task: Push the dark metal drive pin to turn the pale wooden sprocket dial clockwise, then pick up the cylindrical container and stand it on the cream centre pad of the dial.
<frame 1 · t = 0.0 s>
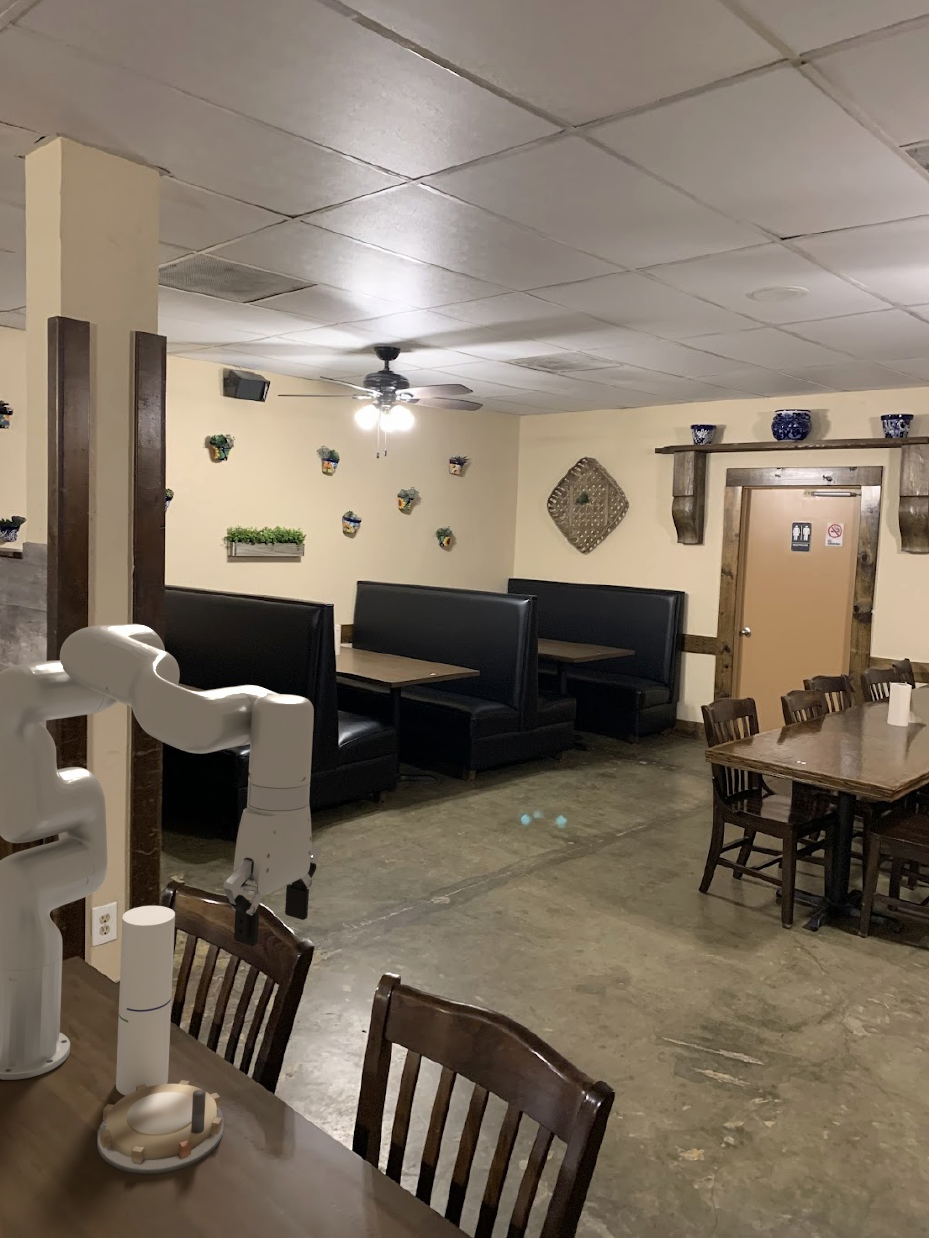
hand: (271, 929, 118), 31 cm above the table, tool pointing down, fingers open, 9 cm apart
cylindrical container: (142, 1083, 137), on the table
dial base: (161, 1133, 126), on the table
dial: (163, 1101, 125), point 5 cm above the table, hinge at 0.0°
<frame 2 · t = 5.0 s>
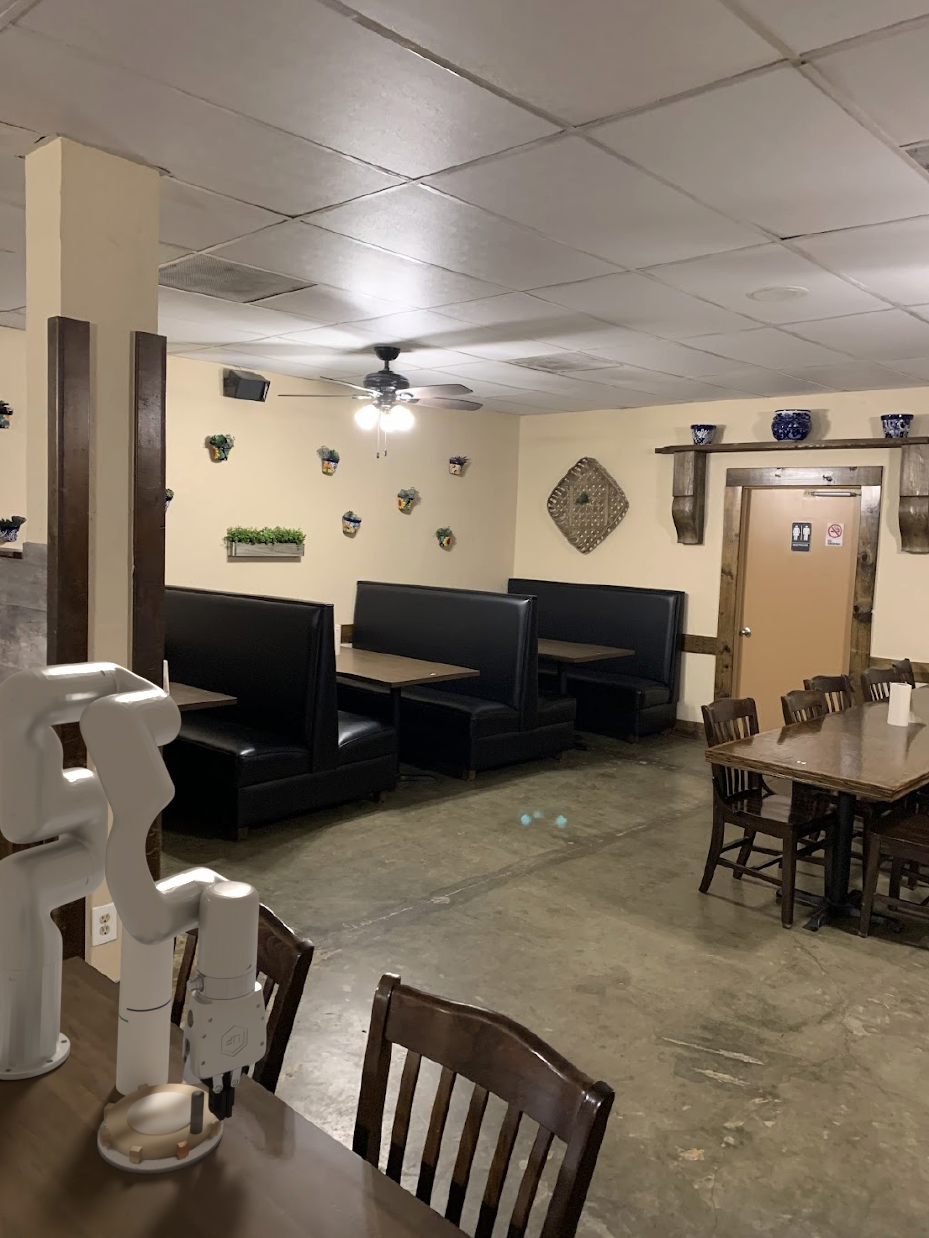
hand: (220, 1113, 124), 4 cm above the table, tool pointing down, fingers closed
dial: (163, 1101, 125), point 5 cm above the table, hinge at -2.3°, touching gripper
everything else where it was.
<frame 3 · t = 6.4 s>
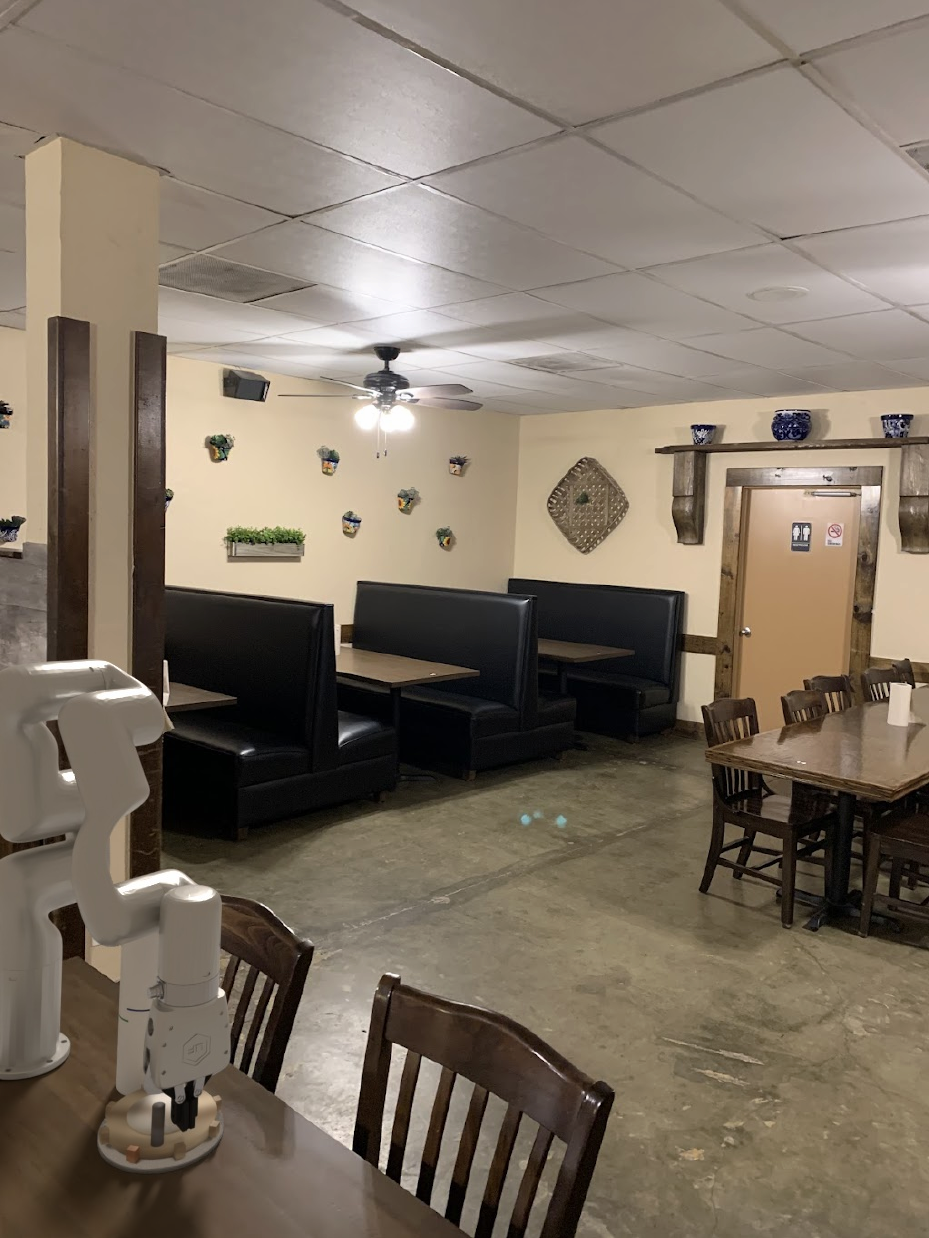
hand: (183, 1124, 121), 4 cm above the table, tool pointing down, fingers closed
dial: (163, 1101, 125), point 5 cm above the table, hinge at -50.4°, touching gripper
everything else where it was.
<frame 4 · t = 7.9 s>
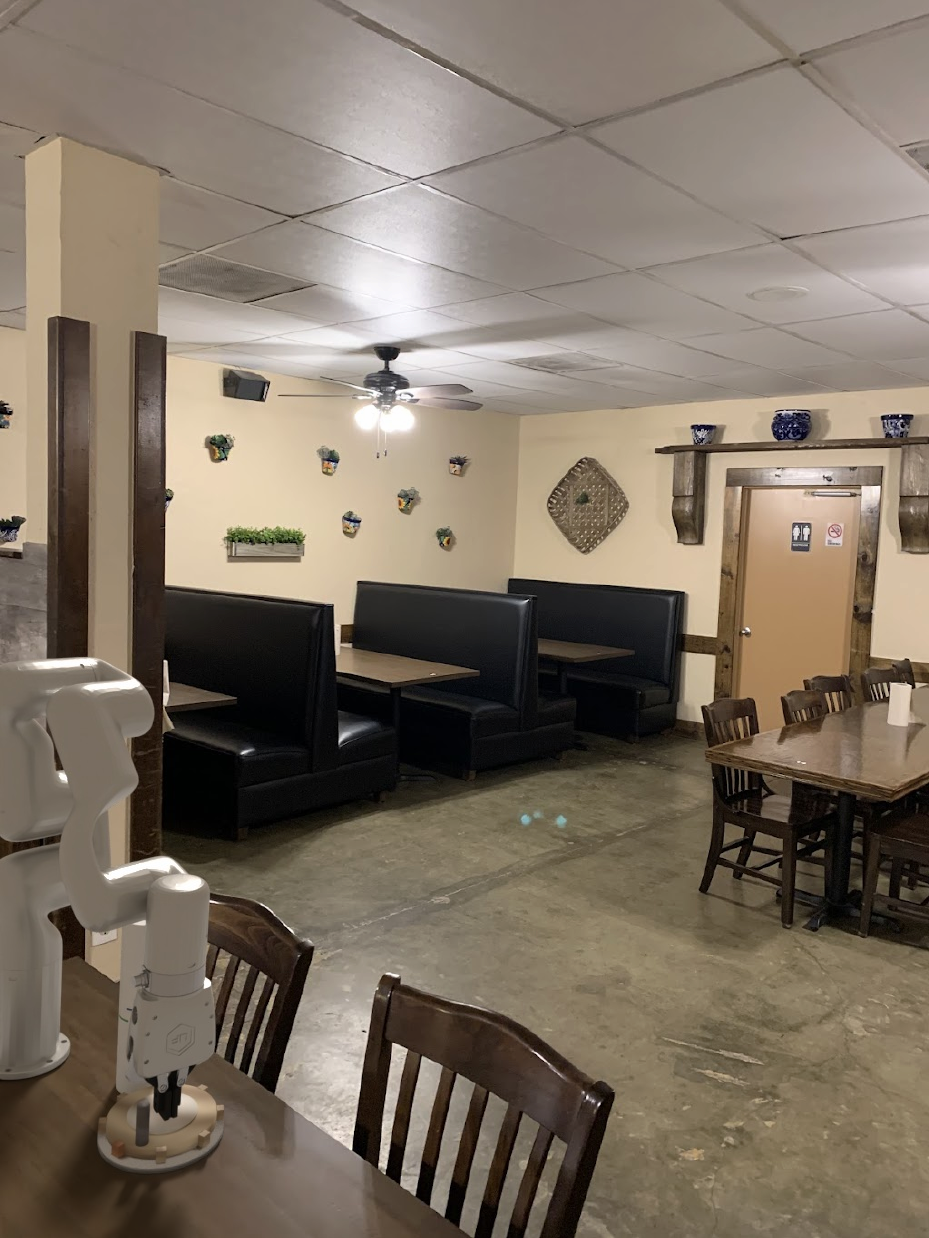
hand: (166, 1113, 120), 6 cm above the table, tool pointing down, fingers closed
dial: (163, 1101, 125), point 5 cm above the table, hinge at -68.0°
everything else where it was.
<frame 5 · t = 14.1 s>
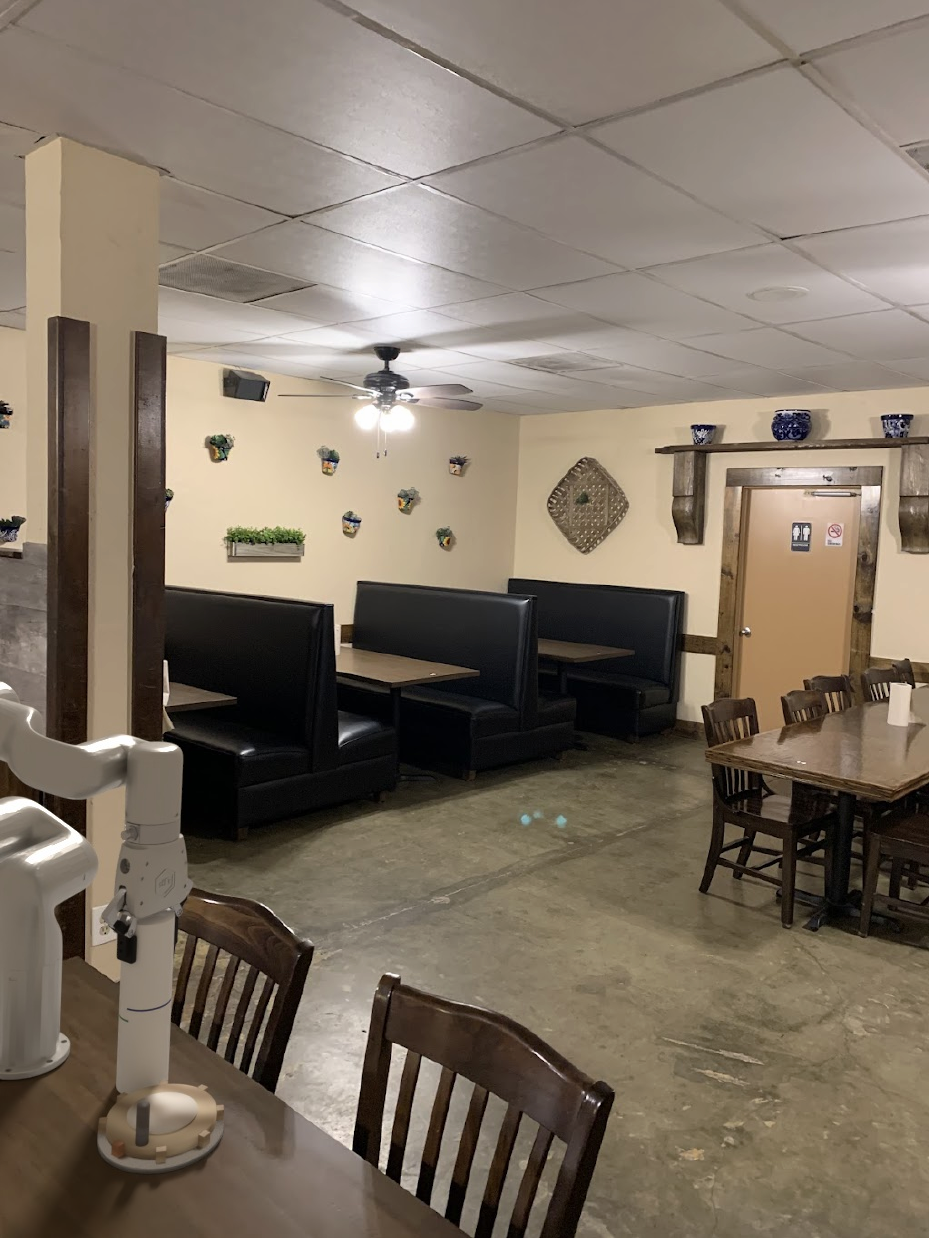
hand: (147, 950, 135), 20 cm above the table, tool pointing down, fingers closed on cylindrical container, 7 cm apart
cylindrical container: (142, 1083, 137), on the table, touching gripper
everything else where it was.
when the fingers open (24 cm above the table, at t = 20.8 s): cylindrical container stays where it is, resting on dial.
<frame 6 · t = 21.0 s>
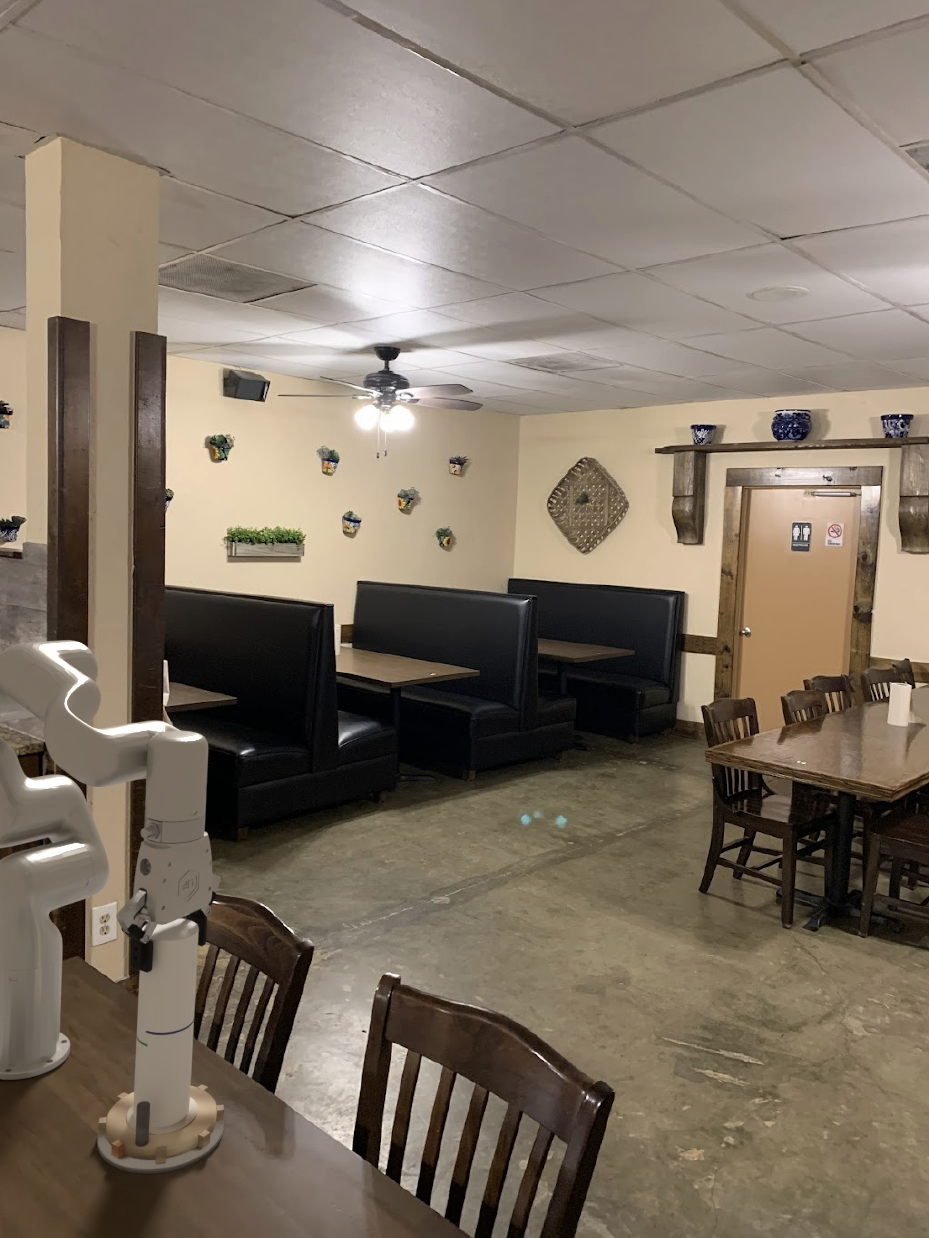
hand: (169, 955, 124), 25 cm above the table, tool pointing down, fingers open, 9 cm apart
cylindrical container: (161, 1111, 126), point 3 cm above the table, touching dial
dial: (163, 1101, 125), point 5 cm above the table, hinge at -68.0°, touching cylindrical container
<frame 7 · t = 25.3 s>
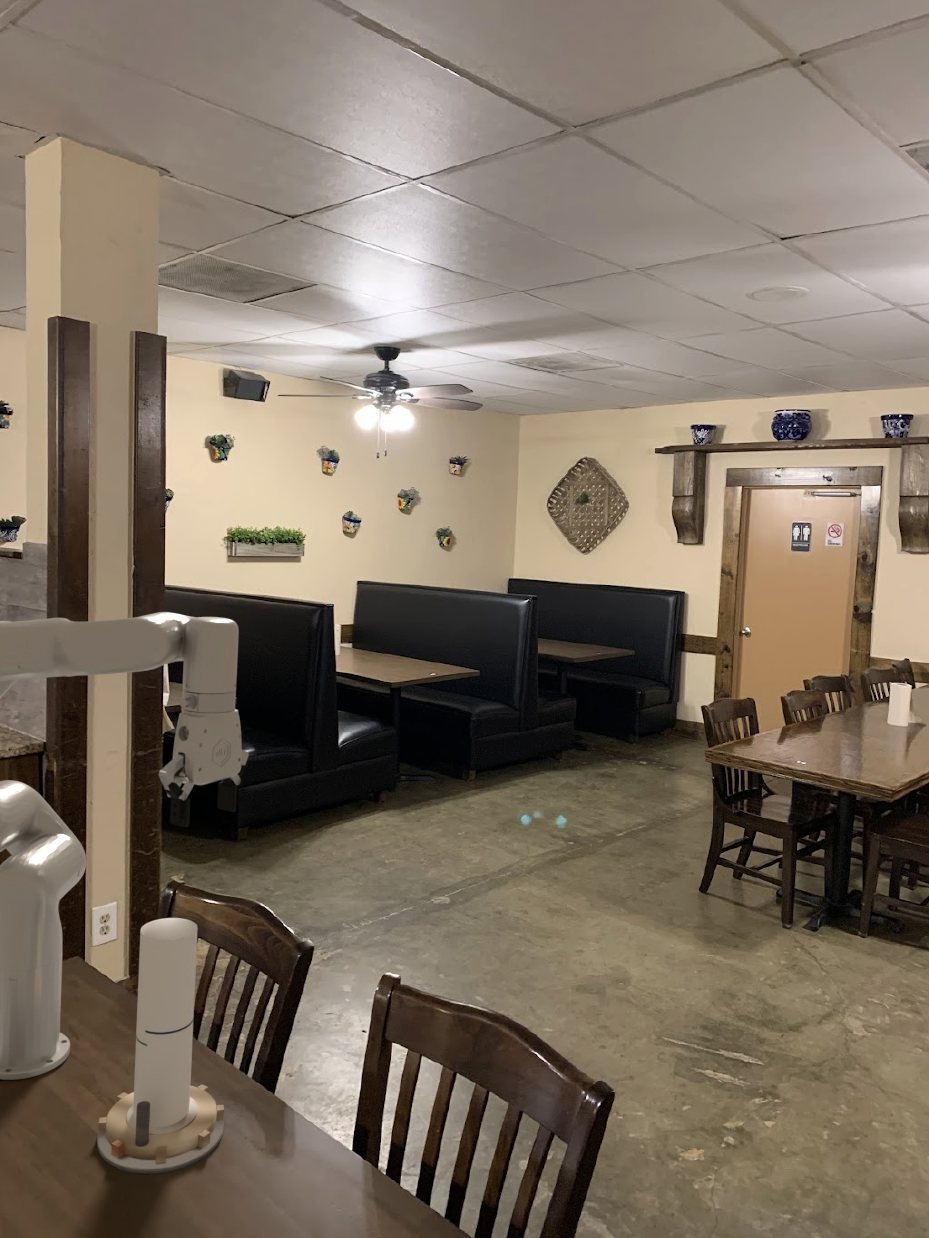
hand: (203, 817, 139), 38 cm above the table, tool pointing down, fingers open, 9 cm apart
nothing on the table moved.
at the end: dial at -68° (first picture: +0°); cylindrical container 0.2 cm off-centre on the dial, point 2.9 cm above the dial's base; cylindrical container tilted 0° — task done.
